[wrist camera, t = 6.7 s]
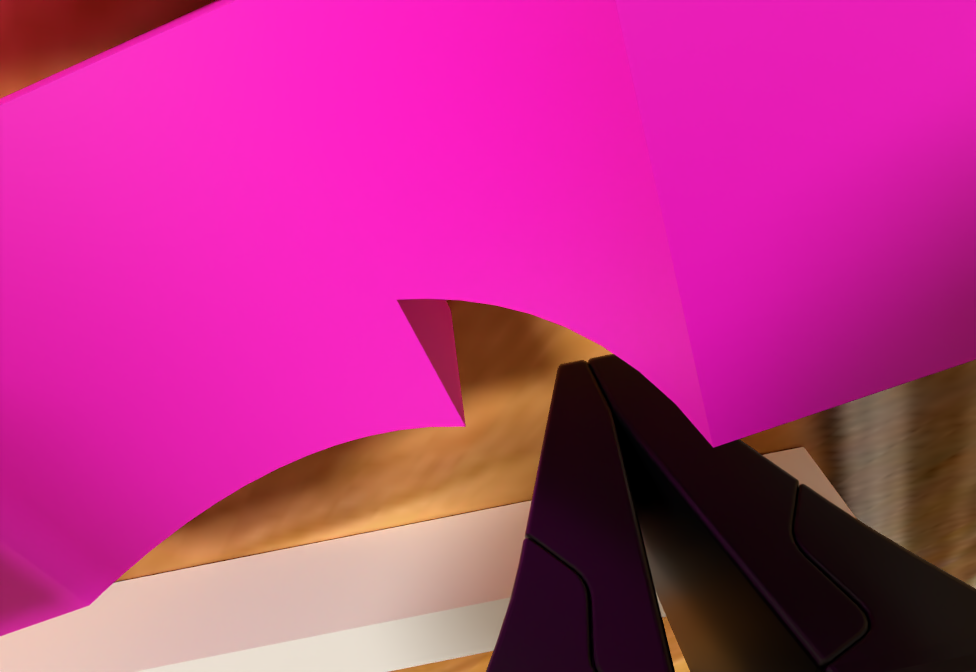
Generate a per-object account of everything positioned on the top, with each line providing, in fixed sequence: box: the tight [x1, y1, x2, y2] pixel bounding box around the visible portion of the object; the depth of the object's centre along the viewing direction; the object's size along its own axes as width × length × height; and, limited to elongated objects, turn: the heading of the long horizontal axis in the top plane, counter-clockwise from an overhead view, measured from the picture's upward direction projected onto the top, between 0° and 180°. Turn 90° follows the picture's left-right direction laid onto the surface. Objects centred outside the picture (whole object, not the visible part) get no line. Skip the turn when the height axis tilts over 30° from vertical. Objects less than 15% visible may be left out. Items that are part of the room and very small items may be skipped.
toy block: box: [0, 0, 976, 636], centre depth 8 cm, size 15×6×8 cm, turn 110°
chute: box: [0, 447, 857, 672], centre depth 10 cm, size 17×28×5 cm, turn 99°
